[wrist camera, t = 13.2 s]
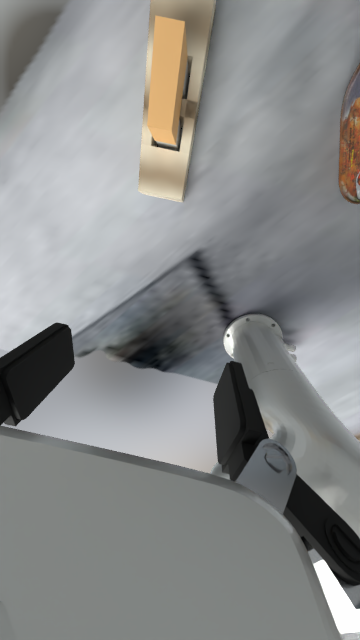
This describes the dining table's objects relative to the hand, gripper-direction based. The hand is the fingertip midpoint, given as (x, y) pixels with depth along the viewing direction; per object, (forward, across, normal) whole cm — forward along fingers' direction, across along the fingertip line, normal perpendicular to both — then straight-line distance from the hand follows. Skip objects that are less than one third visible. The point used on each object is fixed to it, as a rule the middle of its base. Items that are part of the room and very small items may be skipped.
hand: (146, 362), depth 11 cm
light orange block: (+28, +6, -21) cm, 36 cm away
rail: (+28, +6, -21) cm, 36 cm away
